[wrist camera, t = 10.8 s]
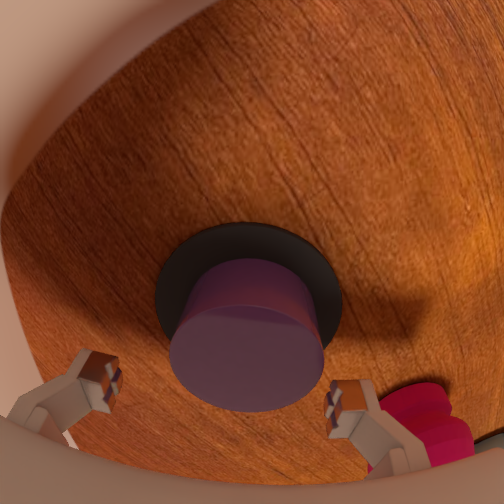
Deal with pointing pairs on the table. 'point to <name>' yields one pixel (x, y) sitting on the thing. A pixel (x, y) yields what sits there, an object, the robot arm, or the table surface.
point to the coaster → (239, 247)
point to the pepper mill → (430, 422)
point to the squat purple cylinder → (248, 337)
